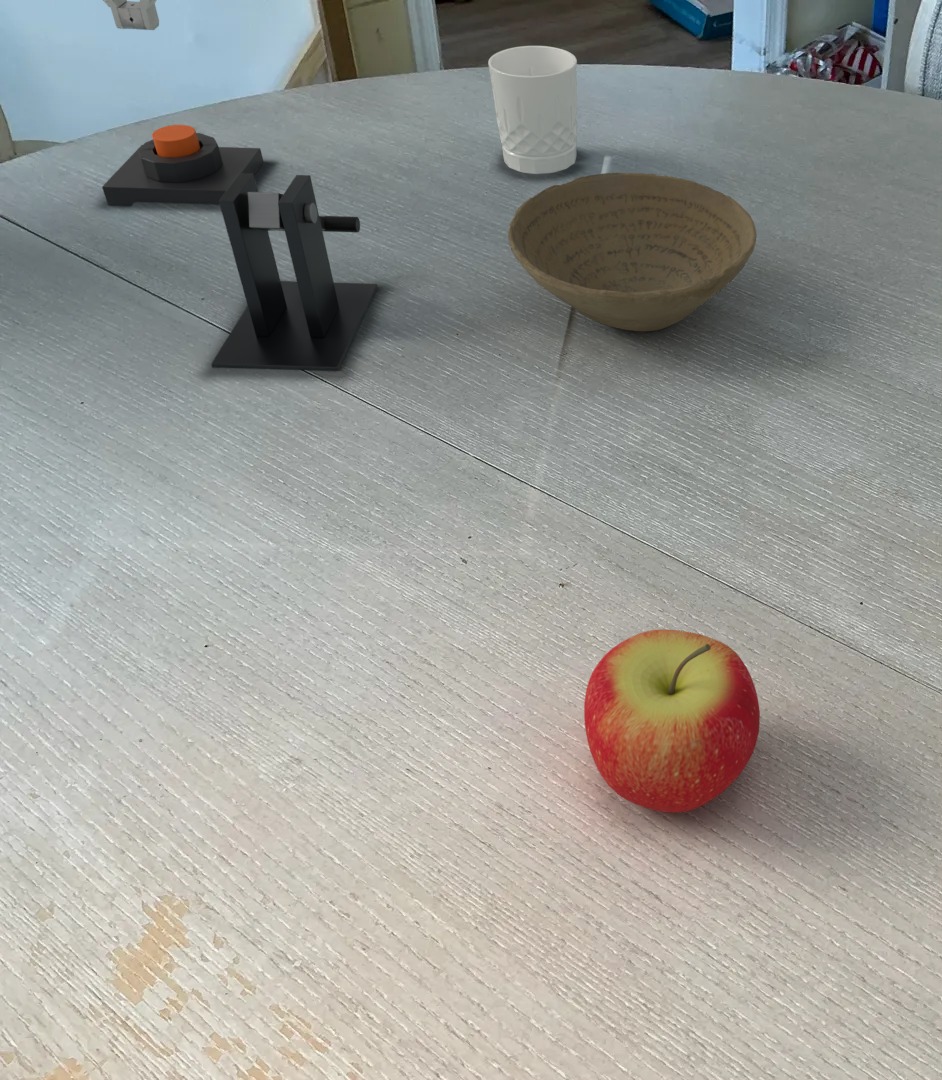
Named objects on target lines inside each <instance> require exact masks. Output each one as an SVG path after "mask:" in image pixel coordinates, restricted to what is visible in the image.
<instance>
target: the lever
mask: <svg viewBox="0 0 942 1080" xmlns="http://www.w3.org/2000/svg"><path fill="white" fill-rule="evenodd" d="M247 194H248V217H249V227H250V228H254V229H259V230H264V231H268V232H285V230H284V226H283V222H282V218H281V214H280V209H279V205H278V202H279V200H280V199H281V197H282V196H283V194H284V193H281V192H273V191H271V192H269V191H258V192H248V193H247ZM319 218H320V222H321V227H322V231H323V233H325V232H327V233H359V232H360V230H361V221H360V218H359V217H358V216H345V215H319Z"/></svg>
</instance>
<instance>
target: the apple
mask: <svg viewBox="0 0 942 1080" xmlns="http://www.w3.org/2000/svg"><path fill="white" fill-rule="evenodd" d="M759 703H760V702H759V698H758V693H757V689H756V686H755V684H754V680H753V678H752V675H751V673H750V671H749V669H748V667H747V666H746V664H745V663H744V661H743V660H742V658H741V657H740V656H739V654H738V653H737V652H736V651H735V650H734V649H733V648H732V647H730V646H729V645H728V644H726V643H724V642H723V641H720V640H718V639H715V638H713V637H709V636H707V635H703V634H700V633H696V632H690V631H685V630H677V629H652V630H647V631H643V632H640V633H637V634H635V635H633V636H631V637H628V638H627V639H625V640H623V641H621V642H620V643H618V644H616V645H615V646H614V647H612V648H611V649H610V650H609V651H608V652H607V653H606V654H605V655H604V656H603V657H602V658H601V659H600V660H599V661H598V663H597V664H596V666H595V668H594V669H593V670H592V673H591V675H590V677H589V680H588V682H587V685H586V689H585V696H584V705H583V706H584V707H583V708H584V709H583V711H584V713H583V716H584V717H583V719H584V728H585V735H586V739H587V740H586V741H587V744H588V749H589V751H590V754H591V757H592V759H593V762H594V764H595V766H596V768H597V770H598V772H599V774H600V776H601V777H602V779H603V780H604V781H605V783H606V784H607V785H608V787H610V789H611V790H613V792H615V793H616V794H617V795H619V796H620V797H621V798H623V799H625V800H627V801H628V802H630V803H632V804H634V805H636V806H639V807H641V808H644V809H649V810H653V811H657V812H664V813H685V812H689V811H693V810H696V809H698V808H700V807H702V806H704V805H706V804H708V803H709V802H711V801H713V800H714V799H715V798H717V797H718V796H719V795H721V794H722V793H723V792H724V791H726V790H727V789H728V788H729V787H730V786H731V785H732V784H733V783H734V781H736V780H737V778H738V777H739V776H740V775H741V774H742V773H743V771H744V770H745V768H746V767H747V765H748V763H749V762H750V760H751V758H752V756H753V753H754V751H755V749H756V747H757V743H758V738H759V733H760V720H761V714H760V713H761V712H760V705H759Z"/></svg>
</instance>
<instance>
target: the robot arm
mask: <svg viewBox="0 0 942 1080" xmlns="http://www.w3.org/2000/svg"><path fill="white" fill-rule="evenodd" d="M102 1H103V2H104V3H105V4H106V6H107V7H108V8H110V10H111V14H112V17H113V21H114V24H115V27H116V28H117V29H118V30H119V29H120V30H138V31H139V30H141V31H142V30H143V31H155V30H156V29H157V28H158V27H159V26H160V19H159V15H158V10H157V7H156V3H157V0H139V1H131V0H102Z"/></svg>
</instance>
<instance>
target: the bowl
mask: <svg viewBox="0 0 942 1080" xmlns="http://www.w3.org/2000/svg"><path fill="white" fill-rule="evenodd" d="M757 234H758V233H757V229H756V226H755V222H754V220H753V218H752V216H751V215H750V214H749V213H748V211H746V210H745V208H744V207H743V206H742V205H741V204H740V203H738V202H737V201H736V200H735V199H734V198H732V197H731V196H728V195H726V194H725V193H723V192H722V191H719V190H716V189H713V188H712V187H709V186H708V185H707V186H706V185H703V184H701V183H698V182H696V181H694V180H689V179H685V178H680V177H674V176H669V175H659V174H655V173H646V172H645V173H644V172H643V173H642V172H604V173H598V174H593V175H592V174H591V175H585V176H580V177H576V178H574V179H573V180H570V181H568V182H565V183H561V184H553V185H551V186H549V187H545V189H543V190H541V191H540V192H538V193H537V194H535V195H534V196H532V197H529V198H528V199H527V200H525V201H523V202H522V204H521V205H520V206H519V207H518V208H517V209H516V211H515V213H514V216H513V218H512V219H511V221H510V222H509V228H508V232H507V237H508V242H509V247H510V250H511V252H512V254H513V256H514V258H515V259H516V261H517V262H518V263H519V265H520V266H521V267H522V268H523V270H525V272H526V273H527V274H528V275H529V277H531V278H532V279H533V281H535V282H536V283H537V284H538V285H539V286H540V287H541V288H543V289H545V290H546V291H547V293H550V294H551V295H553V296H555V297H556V298H558V299H560V300H561V301H563V302H564V303H566V304H568V305H569V306H571V307H573V308H574V309H575V310H577V311H578V312H579V313H580V314H582V315H583V316H585V317H586V318H588V319H590V320H592V321H593V322H596V323H598V324H601V325H604V326H608V327H612V328H615V329H620V330H626V331H631V332H632V331H633V332H655V331H660V330H664V329H666V328H668V327H670V326H672V325H675V324H677V323H679V322H680V321H682V320H684V319H685V318H687V317H688V316H690V315H691V314H693V313H694V312H695V311H696V310H697V309H698V308H700V307H701V306H702V305H704V304H705V303H706V302H708V301H709V300H710V299H712V298H713V297H714V296H716V294H718V293H719V292H721V290H723V289H724V288H725V287H726V286H728V285H729V284H730V283H731V282H732V281H733V280H734V279H735V278H736V277H737V275H739V273H740V272H741V271H742V270H743V268H744V267H745V265H746V264H747V262H748V261H749V259H750V258H751V256H752V254H753V253H754V250H755V247H756V242H757Z"/></svg>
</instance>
